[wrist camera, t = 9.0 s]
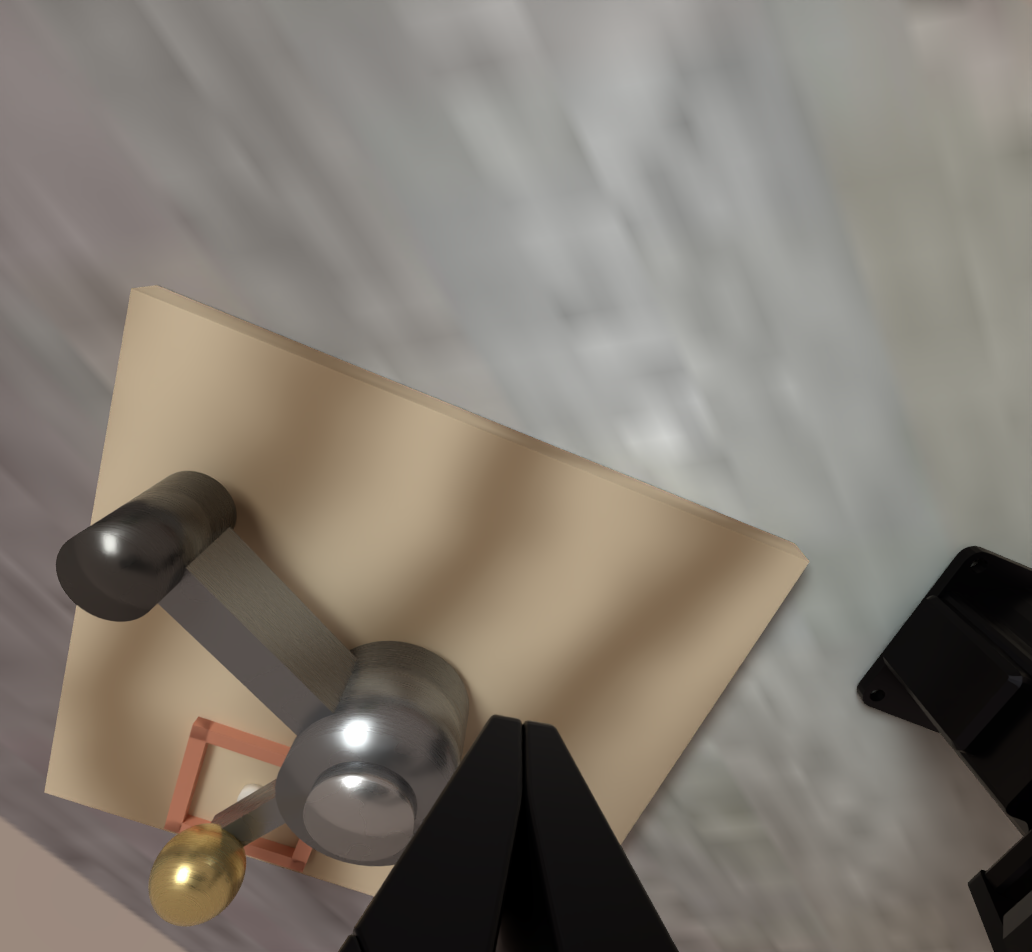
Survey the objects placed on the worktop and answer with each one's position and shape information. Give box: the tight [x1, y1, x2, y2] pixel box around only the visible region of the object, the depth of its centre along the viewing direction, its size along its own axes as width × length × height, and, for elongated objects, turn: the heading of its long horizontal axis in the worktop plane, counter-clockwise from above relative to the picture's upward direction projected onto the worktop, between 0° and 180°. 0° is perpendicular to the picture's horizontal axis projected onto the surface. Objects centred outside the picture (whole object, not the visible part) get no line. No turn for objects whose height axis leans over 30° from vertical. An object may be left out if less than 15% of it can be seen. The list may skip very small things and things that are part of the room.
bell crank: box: [56, 471, 469, 926], centre depth 20 cm, size 11×20×5 cm, turn 36°
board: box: [45, 285, 810, 896], centre depth 22 cm, size 21×20×1 cm
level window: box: [164, 716, 312, 873], centre depth 23 cm, size 6×6×1 cm
